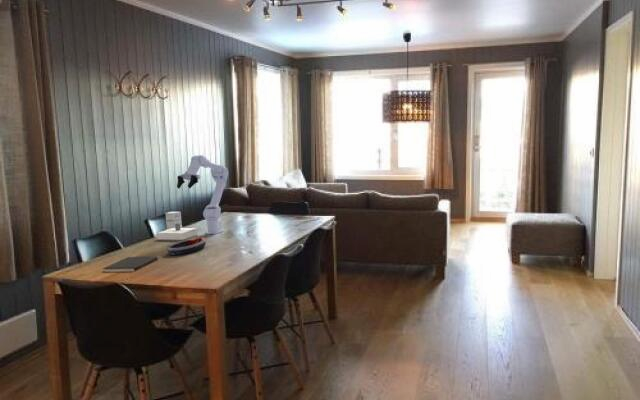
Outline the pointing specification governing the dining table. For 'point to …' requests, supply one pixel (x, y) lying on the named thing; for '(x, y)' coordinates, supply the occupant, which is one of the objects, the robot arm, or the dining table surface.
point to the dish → (186, 246)
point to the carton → (176, 235)
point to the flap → (177, 228)
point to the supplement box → (173, 219)
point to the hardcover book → (130, 264)
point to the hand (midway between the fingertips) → (183, 187)
